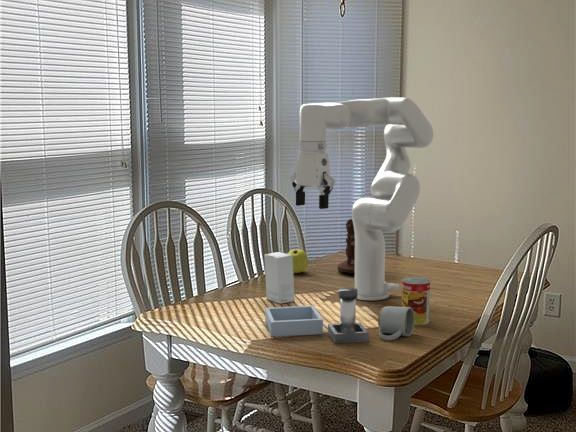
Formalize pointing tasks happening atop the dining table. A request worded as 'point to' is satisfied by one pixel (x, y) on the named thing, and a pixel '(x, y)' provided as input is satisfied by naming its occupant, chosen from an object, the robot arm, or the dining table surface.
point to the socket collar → (348, 334)
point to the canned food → (417, 298)
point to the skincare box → (279, 277)
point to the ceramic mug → (395, 322)
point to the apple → (299, 260)
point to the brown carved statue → (349, 250)
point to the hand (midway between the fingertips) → (311, 206)
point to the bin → (293, 321)
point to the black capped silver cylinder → (348, 309)
